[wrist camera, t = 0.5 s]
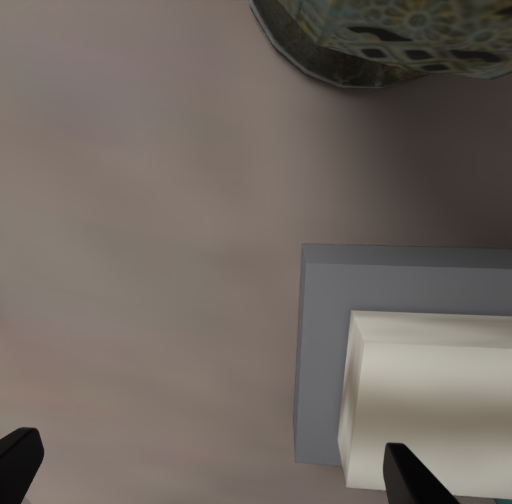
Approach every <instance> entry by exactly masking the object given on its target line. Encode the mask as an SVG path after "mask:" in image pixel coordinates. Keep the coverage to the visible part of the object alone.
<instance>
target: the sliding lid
mask: <svg viewBox="0 0 512 504" xmlns="http://www.w3.org/2000/svg"><path fill="white" fill-rule="evenodd" d="M337 440H338V446H339V451H340V456H341V461H342V467H343V472H344V477H345V483H346V487H348V488H362V489H376V490H386V487H385V483H384V478H383V460H384V452H385V446H386V443H388V442H398V443H404V444H405V445H406V446H407V447H408V448H409V449H410V450H411V451H412V452H413V453H414V454H415V455H416V456H417V457H418V458H419V460H420V461H421V462H422V463H423V464H424V465H425V466H426V467H427V468H428V469H429V470H430V471H431V472H432V473H433V474H434V476H435V477H436V478H437V479H438V480H439V481H440V482H441V483H442V484H443V485H444V486H445V487H446V488H447V489H448V490H449V492H450V493H451V494H452V495H459V496H473V497H486V498H500V499H512V316H487V315H461V314H434V313H407V312H381V311H354V310H351V317H350V326H349V336H348V345H347V355H346V364H345V373H344V383H343V392H342V402H341V411H340V420H339V430H338V439H337Z"/></svg>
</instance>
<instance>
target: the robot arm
mask: <svg viewBox="0 0 512 504" xmlns="http://www.w3.org/2000/svg"><path fill="white" fill-rule="evenodd" d="M43 457H44V448H43V444H42V441H41V437H40V434H39V431H38V430H37V429H36V428H30V427H22V428H18V429H17V430H15V431H13V432H12V433H10V434H8V435H7V436H5V437H3V438H2V439H0V504H21V502H22V500H23V498H24V497H25V495H26V493H27V491H28V489H29V487H30V485H31V483H32V481H33V479H34V477H35V475H36V473H37V471H38V469H39V467H40V465H41V463H42V460H43ZM383 478H384V483H385V487H386V492H387V497H388V501H389V504H461V503H460V502H459V501H458V500H457V499H456V498H455V497H454V496H453V495H452V494H451V493H450V492H449V490H448V489H447V488H446V487H445V486H444V485H443V484H442V483H441V482H440V481H439V480H438V479H437V478H436V477H435V476H434V474H433V473H432V472H431V471H430V470H429V469H428V468H427V467H426V466H425V465H424V464H423V463H422V462H421V461H420V460H419V458H418V457H417V456H416V455H415V454H414V453H413V452H412V451H411V450H410V449H409V448H408V447H407V446H406V445H405V444H404V443H398V442H388V443H386V446H385V452H384V460H383Z"/></svg>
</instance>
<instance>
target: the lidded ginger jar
mask: <svg viewBox="0 0 512 504" xmlns="http://www.w3.org/2000/svg"><path fill="white" fill-rule="evenodd" d="M249 4H250V8H251V10H252V12H253V13H254V15H255V17H256V18H257V20H258V22H259V23H260V25H261V27H262V29H263V30H264V32H265V34H266V35H267V37H268V39H269V40H270V42H271V44H272V45H273V47H274V48H275V49H276V50H278V51H279V52H280V53H281V54H282V55H283V56H284V57H286V58H287V59H288V60H289V61H290V62H291V63H293V64H294V65H295V66H296V67H297V68H298V69H299V70H301V71H302V72H303V73H304V74H306V75H309V76H312V77H314V78H317V79H319V80H322V81H324V82H327V83H330V84H332V85H335V86H337V87H340V88H378V89H381V88H384V87H388V86H392V85H395V84H399V83H402V82H406V81H410V80H413V79H417V78H420V77H424V76H427V75H428V74H430V73H440V74H448V75H457V76H466V77H474V78H483V79H491V80H493V79H496V78H499V77H502V76H505V75H507V74H510V73H512V0H249Z"/></svg>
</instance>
